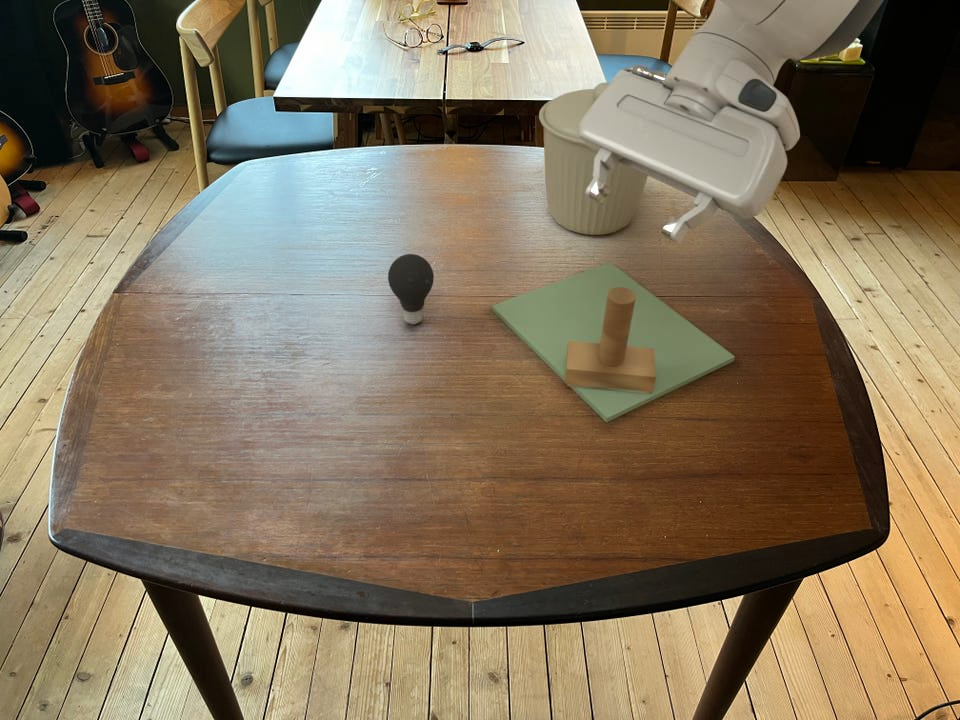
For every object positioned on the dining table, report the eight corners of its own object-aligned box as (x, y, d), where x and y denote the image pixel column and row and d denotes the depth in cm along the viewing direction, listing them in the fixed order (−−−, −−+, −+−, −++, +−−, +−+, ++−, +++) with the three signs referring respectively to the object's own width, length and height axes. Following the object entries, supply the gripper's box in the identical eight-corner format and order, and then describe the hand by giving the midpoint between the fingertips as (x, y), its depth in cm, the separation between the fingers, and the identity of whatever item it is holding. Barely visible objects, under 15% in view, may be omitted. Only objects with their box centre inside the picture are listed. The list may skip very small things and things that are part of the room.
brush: (649, 367, 88) (667, 285, 80) (651, 396, 84) (670, 313, 76) (566, 359, 89) (575, 277, 81) (564, 387, 85) (574, 305, 77)
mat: (733, 361, 90) (735, 356, 89) (606, 422, 82) (607, 417, 81) (609, 266, 105) (609, 261, 105) (491, 310, 97) (491, 305, 97)
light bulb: (387, 333, 93) (381, 268, 87) (397, 307, 97) (392, 242, 91) (430, 338, 93) (427, 273, 86) (439, 311, 97) (437, 247, 90)
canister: (669, 214, 116) (696, 81, 102) (608, 263, 106) (630, 122, 92) (574, 179, 125) (587, 51, 111) (509, 221, 114) (515, 86, 100)
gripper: (614, 42, 72) (537, 165, 73) (806, 107, 60) (709, 250, 62) (636, 77, 77) (564, 191, 78) (816, 142, 65) (727, 274, 67)
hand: (629, 218), depth 70 cm, fingers open, 8 cm apart
